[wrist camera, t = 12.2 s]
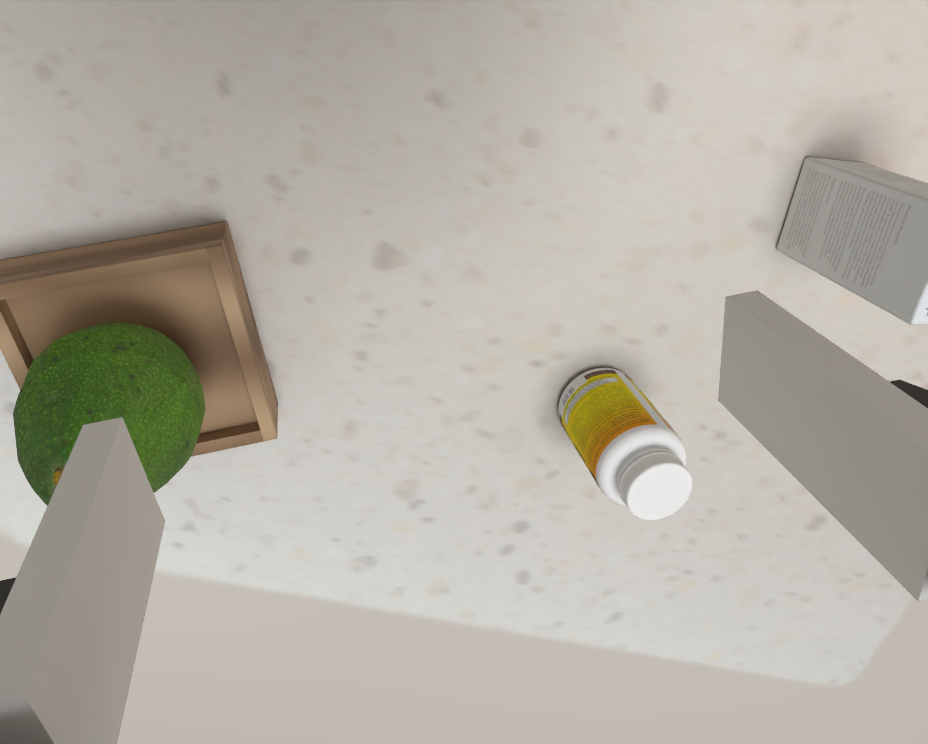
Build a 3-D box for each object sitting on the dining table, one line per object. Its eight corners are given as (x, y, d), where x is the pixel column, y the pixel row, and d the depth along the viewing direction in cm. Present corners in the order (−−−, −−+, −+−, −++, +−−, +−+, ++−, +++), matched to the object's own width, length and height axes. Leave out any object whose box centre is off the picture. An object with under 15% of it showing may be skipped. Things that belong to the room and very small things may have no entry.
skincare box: (830, 252, 49) (976, 330, 38) (773, 249, 48) (907, 328, 37) (864, 158, 46) (1031, 214, 35) (804, 153, 45) (959, 209, 34)
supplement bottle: (539, 418, 50) (594, 515, 41) (585, 351, 48) (652, 437, 39) (603, 445, 52) (667, 542, 43) (649, 382, 50) (725, 470, 42)
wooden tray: (0, 259, 38) (-28, 289, 35) (226, 221, 40) (221, 245, 36) (82, 442, 44) (65, 482, 40) (277, 402, 45) (277, 438, 42)
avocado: (192, 282, 38) (157, 401, 27) (226, 412, 42) (207, 559, 31) (24, 305, 37) (-78, 438, 26) (76, 436, 40) (4, 598, 30)
